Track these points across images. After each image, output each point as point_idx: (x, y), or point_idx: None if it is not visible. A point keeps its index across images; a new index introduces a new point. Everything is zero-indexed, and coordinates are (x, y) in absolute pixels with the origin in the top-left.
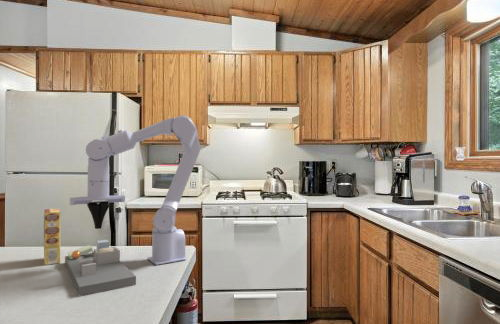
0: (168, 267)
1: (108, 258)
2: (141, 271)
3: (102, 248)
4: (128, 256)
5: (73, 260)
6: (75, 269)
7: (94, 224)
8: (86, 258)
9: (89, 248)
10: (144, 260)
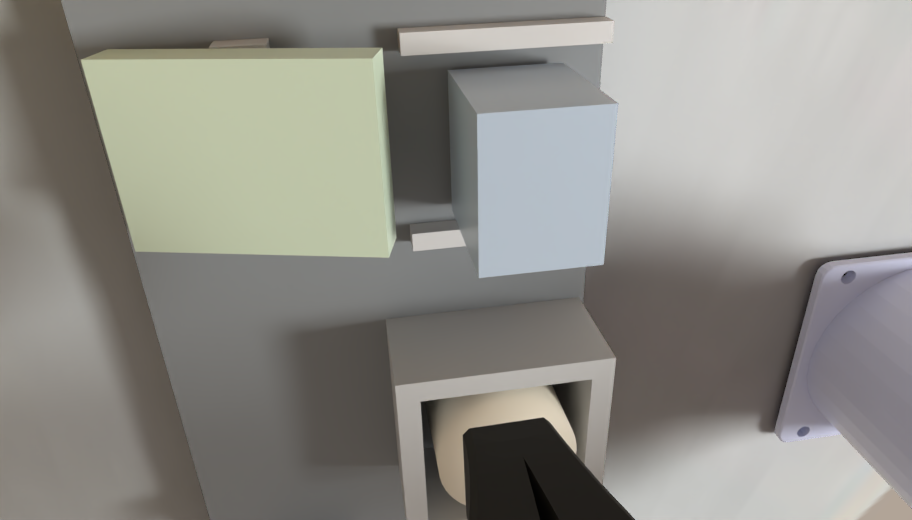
0: (803, 487)
1: None
2: (645, 498)
3: (479, 417)
4: (746, 67)
5: None
6: (236, 508)
7: (469, 478)
8: None
9: (359, 251)
10: (782, 278)
